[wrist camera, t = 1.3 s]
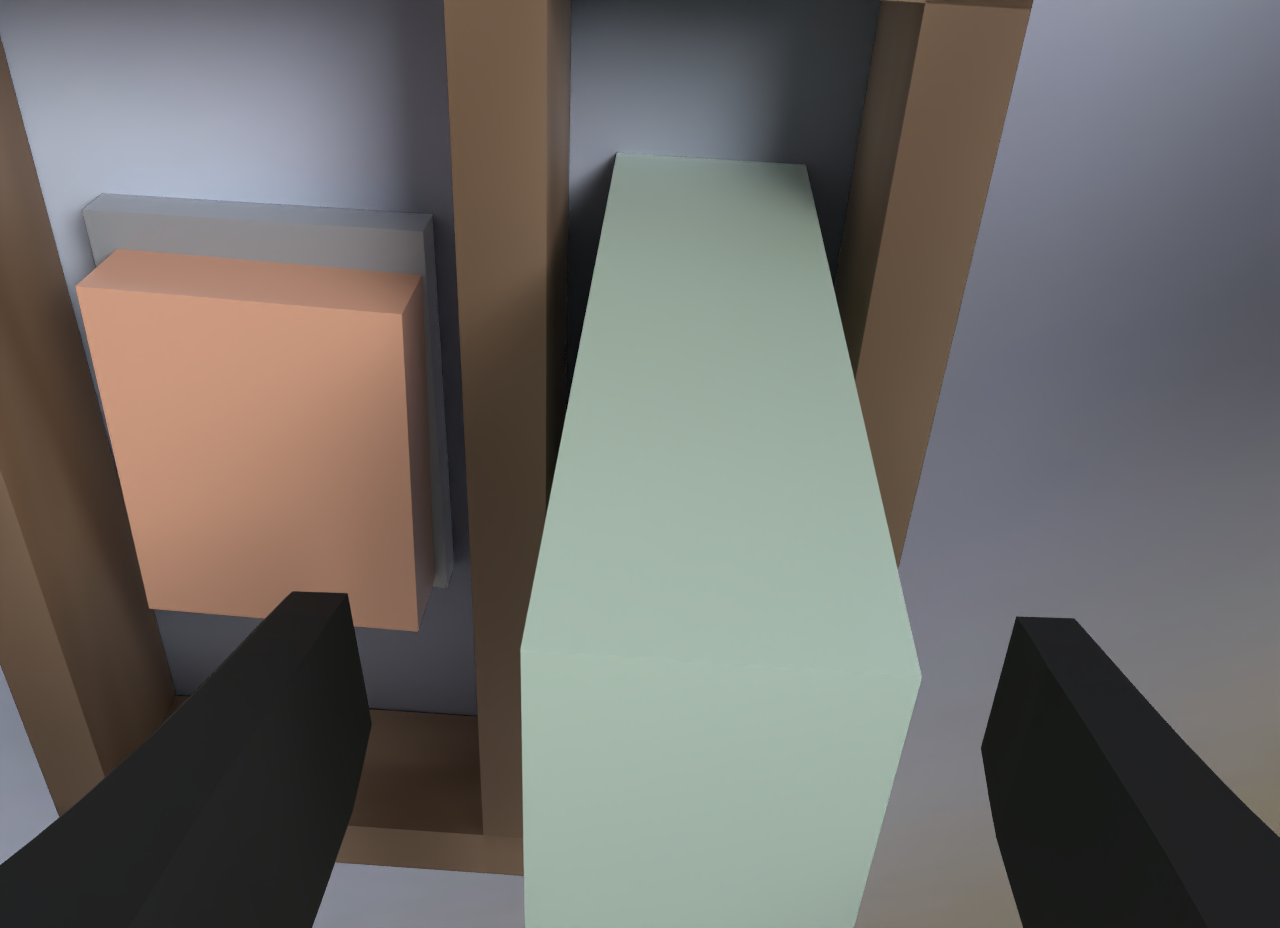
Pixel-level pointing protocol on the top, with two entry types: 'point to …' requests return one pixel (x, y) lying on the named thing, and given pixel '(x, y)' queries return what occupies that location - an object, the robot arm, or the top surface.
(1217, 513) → the top surface
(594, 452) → the pale green block
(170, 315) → the terracotta coaster
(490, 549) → the rack
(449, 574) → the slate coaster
